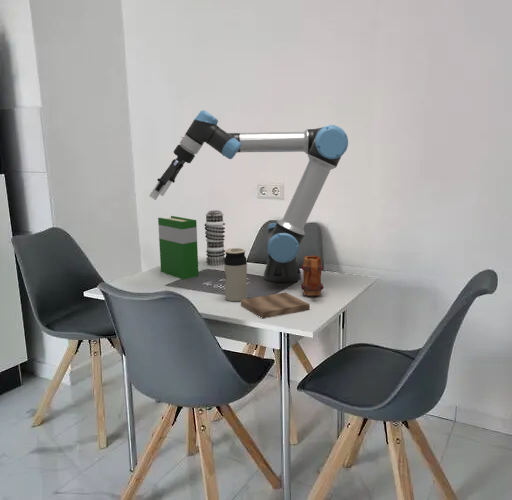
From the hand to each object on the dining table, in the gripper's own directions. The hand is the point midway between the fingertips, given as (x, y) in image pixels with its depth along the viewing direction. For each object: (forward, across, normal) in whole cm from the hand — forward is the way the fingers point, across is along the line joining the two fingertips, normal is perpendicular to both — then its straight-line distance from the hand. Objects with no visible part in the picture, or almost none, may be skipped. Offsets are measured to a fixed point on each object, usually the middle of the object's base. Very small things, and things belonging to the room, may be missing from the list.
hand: (156, 196), depth 204 cm
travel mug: (+11, +15, +46) cm, 50 cm away
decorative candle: (+19, -37, +36) cm, 55 cm away
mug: (-5, +14, +68) cm, 70 cm away
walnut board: (+3, +26, +57) cm, 63 cm away
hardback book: (+27, -21, +24) cm, 42 cm away
